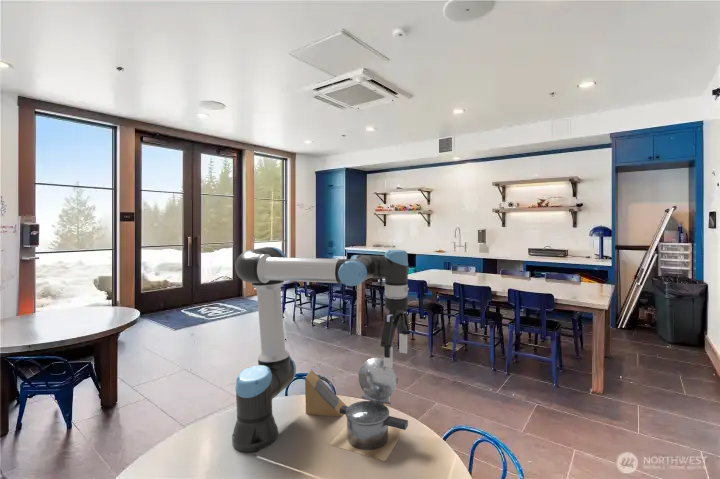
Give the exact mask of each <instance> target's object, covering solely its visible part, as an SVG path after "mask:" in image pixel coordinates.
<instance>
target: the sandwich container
mask: <svg viewBox="0 0 720 479" xmlns="http://www.w3.org/2000/svg"><path fill="white" fill-rule="evenodd" d="M304 385H305V386H304V389H305V393H304V395H305V414H306V415H312V416H313V415H314V416H315V415H316V416H331V417H332V416H333V417H344V415H345V414H341V413H340V408H341V407H342V406H343V405H344V406H347V404H346V403H344V401H342V399H340V397H338V396H337V394H336V393H334V391H332V389H331V388H330V387H329V386H328V385H327V384H326V383H325V382H324V381H323V380H322V379H321V378H320V377H319V376H318V375H317V374H316V373H315V372H314V370H312V368H311V369H310V371H309V372H308V374H307V375H306V376H305V378H304Z"/></svg>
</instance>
